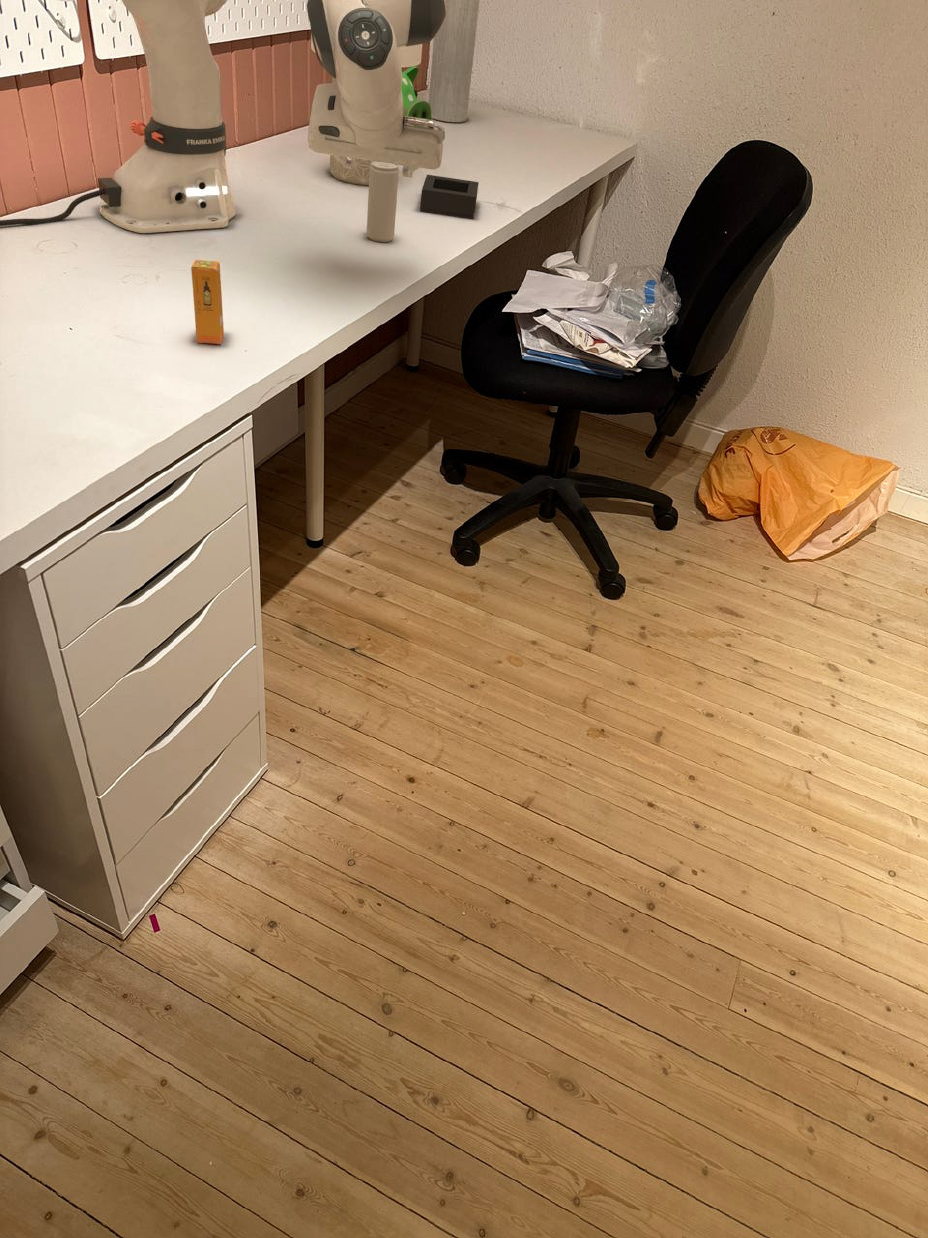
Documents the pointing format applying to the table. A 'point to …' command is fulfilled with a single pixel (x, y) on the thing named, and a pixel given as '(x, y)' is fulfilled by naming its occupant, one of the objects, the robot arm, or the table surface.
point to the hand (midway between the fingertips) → (378, 168)
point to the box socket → (449, 196)
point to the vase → (453, 61)
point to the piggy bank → (413, 97)
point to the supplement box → (207, 301)
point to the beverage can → (382, 201)
